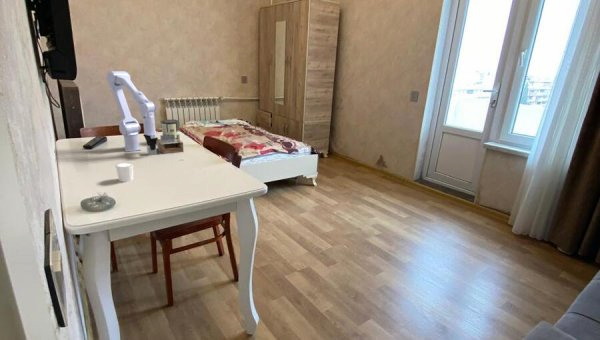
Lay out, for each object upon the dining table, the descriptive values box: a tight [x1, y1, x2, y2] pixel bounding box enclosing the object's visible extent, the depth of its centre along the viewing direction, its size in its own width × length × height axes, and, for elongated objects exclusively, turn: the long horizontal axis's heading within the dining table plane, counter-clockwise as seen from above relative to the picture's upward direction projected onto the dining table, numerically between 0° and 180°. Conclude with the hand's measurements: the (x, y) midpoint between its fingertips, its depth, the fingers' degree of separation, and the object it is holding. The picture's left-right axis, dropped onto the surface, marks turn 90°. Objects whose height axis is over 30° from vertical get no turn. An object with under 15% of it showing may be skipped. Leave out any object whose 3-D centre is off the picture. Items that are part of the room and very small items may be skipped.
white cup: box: [115, 162, 134, 183], centre depth 144 cm, size 7×7×7 cm
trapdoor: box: [159, 134, 179, 144], centre depth 192 cm, size 10×9×3 cm
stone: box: [146, 145, 158, 156], centre depth 183 cm, size 4×4×4 cm
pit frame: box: [156, 138, 184, 155], centre depth 192 cm, size 13×12×6 cm
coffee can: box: [160, 119, 181, 141], centre depth 207 cm, size 10×10×14 cm
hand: (151, 148), depth 183 cm, fingers open, 7 cm apart
